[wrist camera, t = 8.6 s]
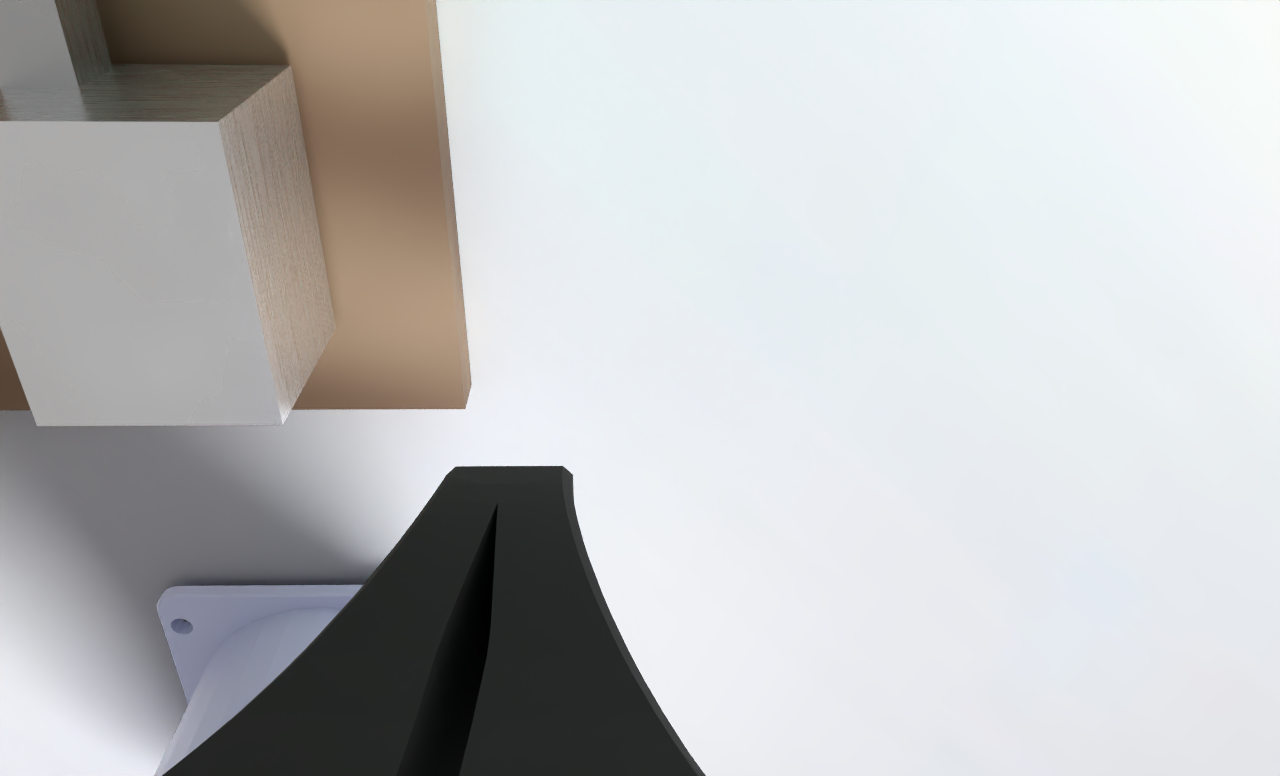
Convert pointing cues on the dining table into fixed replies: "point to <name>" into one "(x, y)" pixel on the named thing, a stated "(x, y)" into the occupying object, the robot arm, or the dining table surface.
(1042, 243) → the dining table surface
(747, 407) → the dining table surface
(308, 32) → the base
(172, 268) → the gauge carriage
